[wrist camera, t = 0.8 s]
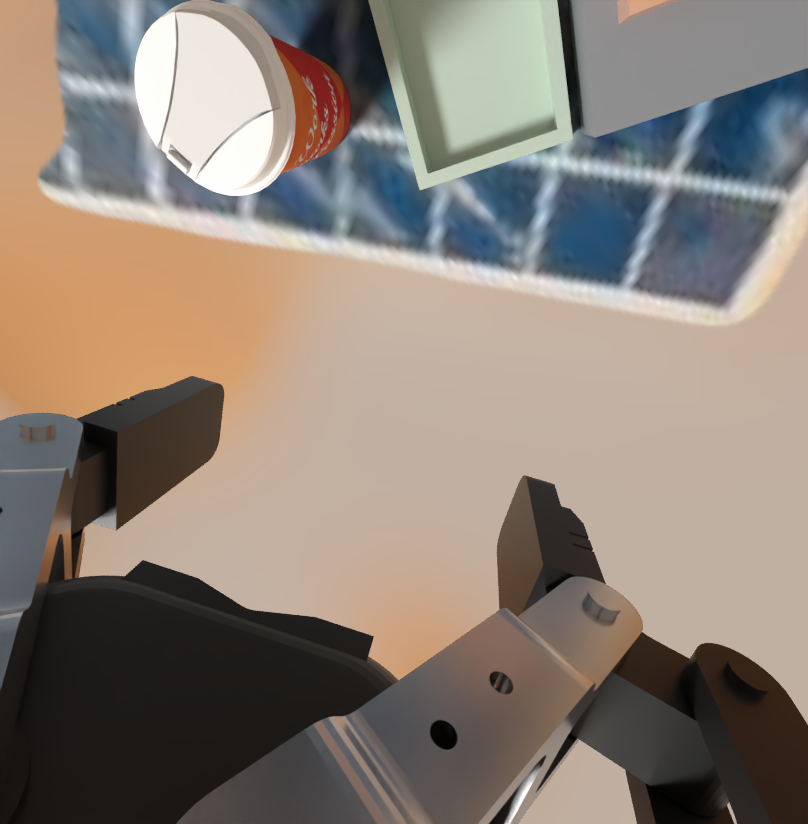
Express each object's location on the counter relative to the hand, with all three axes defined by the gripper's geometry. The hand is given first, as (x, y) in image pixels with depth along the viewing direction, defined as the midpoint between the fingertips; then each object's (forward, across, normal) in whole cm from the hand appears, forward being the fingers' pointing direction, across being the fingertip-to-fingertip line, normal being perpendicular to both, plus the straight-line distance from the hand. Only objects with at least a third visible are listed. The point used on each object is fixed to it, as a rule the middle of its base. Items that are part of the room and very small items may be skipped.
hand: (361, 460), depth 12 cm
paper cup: (+26, +13, -12) cm, 31 cm away
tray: (+24, +3, -17) cm, 30 cm away
